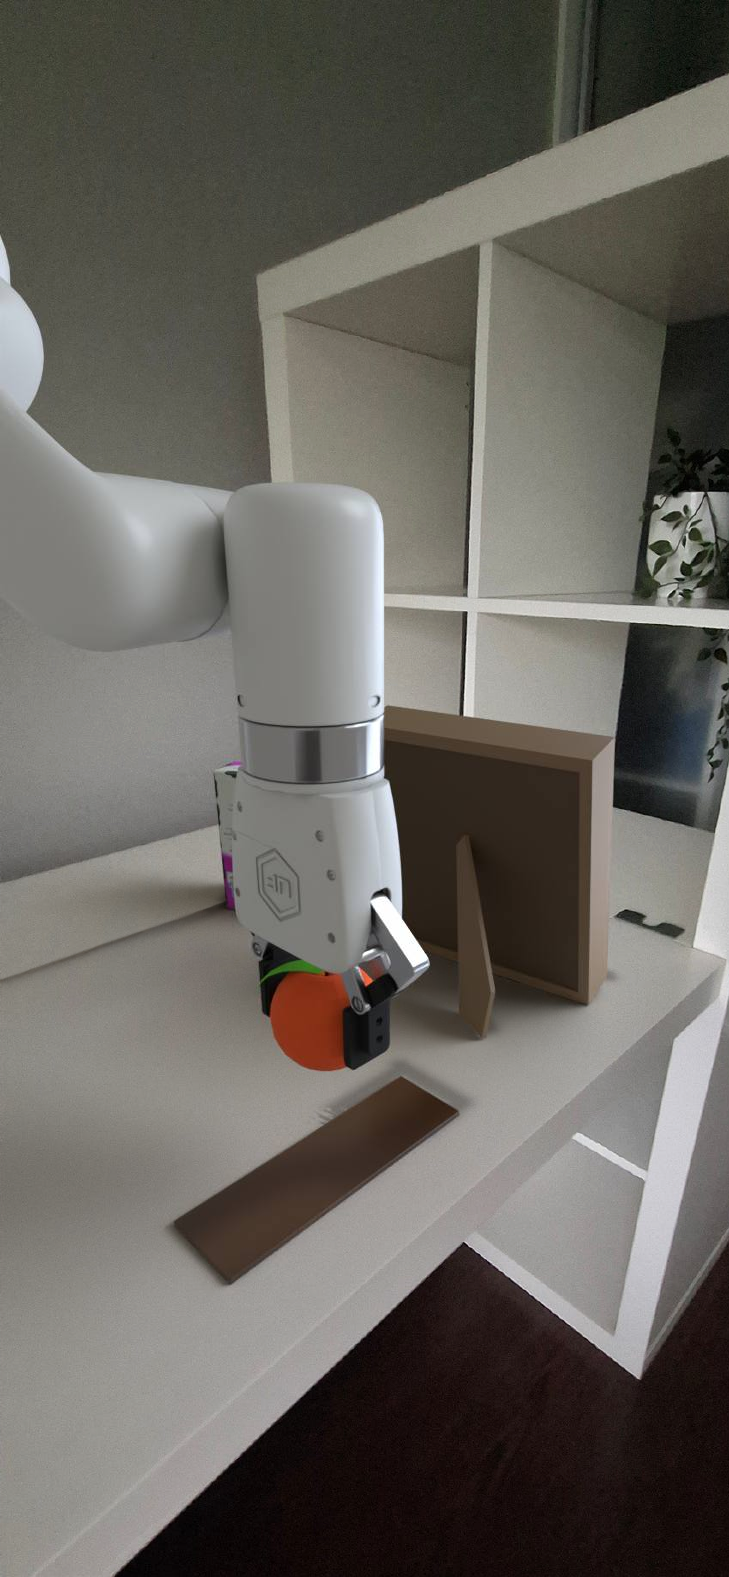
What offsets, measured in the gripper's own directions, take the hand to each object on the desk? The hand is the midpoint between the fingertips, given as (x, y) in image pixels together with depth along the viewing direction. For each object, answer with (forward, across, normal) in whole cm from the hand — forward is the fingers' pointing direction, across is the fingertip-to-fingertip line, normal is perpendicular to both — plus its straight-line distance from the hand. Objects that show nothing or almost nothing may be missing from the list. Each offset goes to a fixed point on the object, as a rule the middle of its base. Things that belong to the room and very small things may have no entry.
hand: (324, 1030), depth 48 cm
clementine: (+3, 0, 0) cm, 3 cm away
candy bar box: (+11, -35, +23) cm, 44 cm away
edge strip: (+11, 0, 0) cm, 11 cm away
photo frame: (+11, -8, +25) cm, 29 cm away
